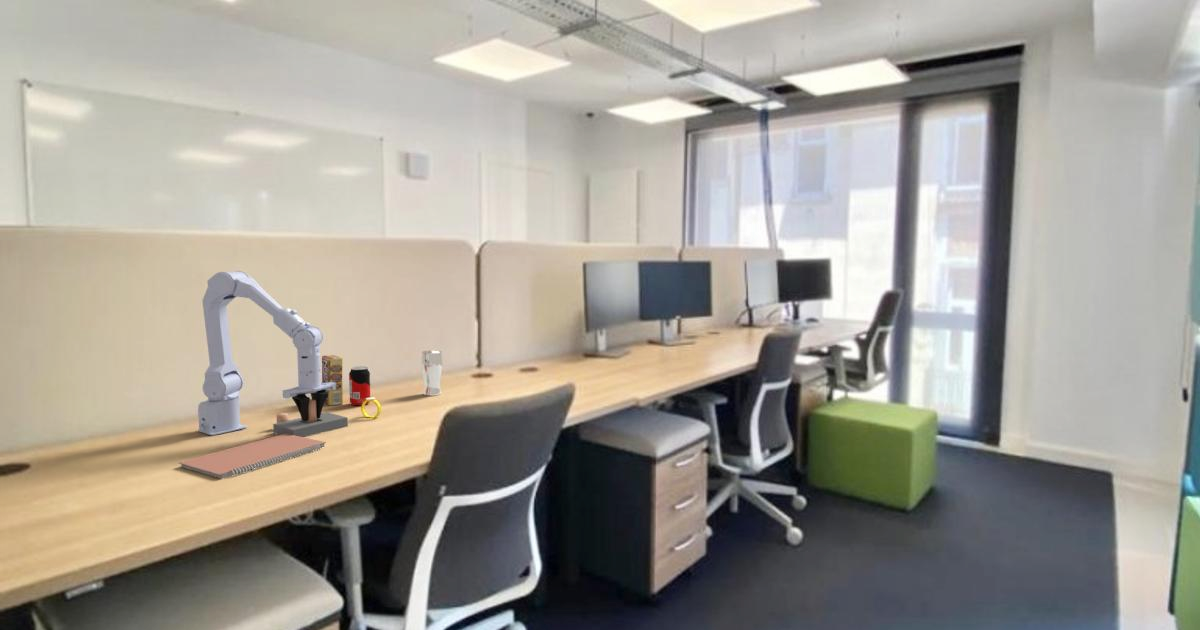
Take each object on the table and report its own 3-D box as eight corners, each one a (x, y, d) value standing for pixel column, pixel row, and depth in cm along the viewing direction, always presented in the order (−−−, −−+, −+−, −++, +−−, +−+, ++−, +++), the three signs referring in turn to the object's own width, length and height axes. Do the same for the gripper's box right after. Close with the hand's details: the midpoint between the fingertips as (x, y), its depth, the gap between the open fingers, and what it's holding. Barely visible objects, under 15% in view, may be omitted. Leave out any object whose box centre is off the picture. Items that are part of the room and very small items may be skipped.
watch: (360, 418, 191) (358, 399, 190) (365, 416, 193) (364, 397, 193) (378, 418, 189) (376, 399, 189) (383, 416, 192) (381, 397, 191)
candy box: (344, 404, 207) (342, 357, 206) (330, 406, 205) (328, 359, 203) (335, 399, 214) (334, 354, 213) (322, 400, 211) (320, 355, 210)
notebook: (223, 482, 138) (222, 474, 138) (178, 469, 146) (178, 461, 146) (328, 449, 162) (328, 441, 162) (286, 439, 170) (285, 432, 170)
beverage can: (366, 406, 204) (365, 369, 203) (346, 406, 204) (345, 369, 203) (373, 402, 211) (372, 366, 209) (354, 401, 211) (353, 366, 210)
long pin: (308, 427, 176) (307, 402, 175) (303, 425, 177) (302, 400, 177) (319, 424, 178) (318, 400, 177) (313, 423, 180) (312, 398, 179)
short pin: (280, 430, 177) (280, 416, 176) (274, 428, 178) (274, 414, 178) (291, 428, 179) (290, 414, 179) (285, 426, 181) (284, 412, 180)
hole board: (293, 439, 168) (293, 430, 168) (273, 432, 174) (273, 423, 174) (347, 426, 181) (347, 417, 181) (327, 420, 187) (327, 412, 187)
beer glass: (446, 393, 224) (446, 351, 223) (431, 397, 218) (431, 353, 217) (432, 391, 228) (432, 349, 227) (417, 394, 222) (417, 352, 221)
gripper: (292, 376, 168) (293, 426, 169) (341, 368, 180) (342, 415, 181) (277, 373, 172) (279, 422, 173) (327, 366, 184) (328, 412, 185)
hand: (311, 418), depth 177 cm, fingers closed on long pin, 3 cm apart
